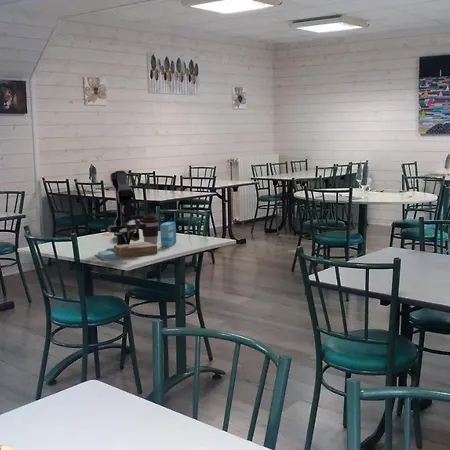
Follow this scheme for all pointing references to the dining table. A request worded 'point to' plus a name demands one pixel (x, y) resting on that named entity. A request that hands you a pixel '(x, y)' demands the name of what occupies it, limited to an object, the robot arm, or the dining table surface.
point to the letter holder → (135, 235)
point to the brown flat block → (135, 249)
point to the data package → (168, 234)
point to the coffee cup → (150, 229)
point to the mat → (111, 258)
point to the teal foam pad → (106, 254)
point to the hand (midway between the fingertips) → (128, 244)
